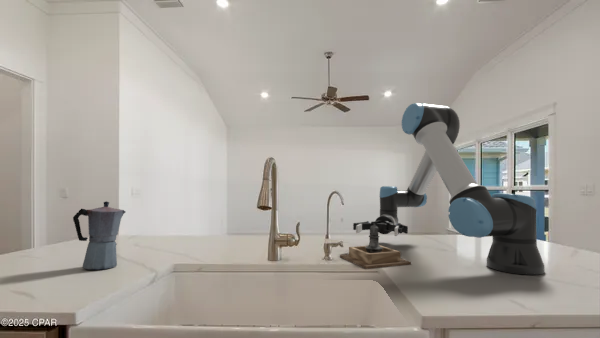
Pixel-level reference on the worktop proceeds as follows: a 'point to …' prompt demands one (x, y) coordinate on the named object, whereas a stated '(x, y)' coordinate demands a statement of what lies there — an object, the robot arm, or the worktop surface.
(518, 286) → the worktop surface
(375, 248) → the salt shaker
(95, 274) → the worktop surface
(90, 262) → the moka pot
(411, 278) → the worktop surface
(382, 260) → the holder
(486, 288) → the worktop surface
